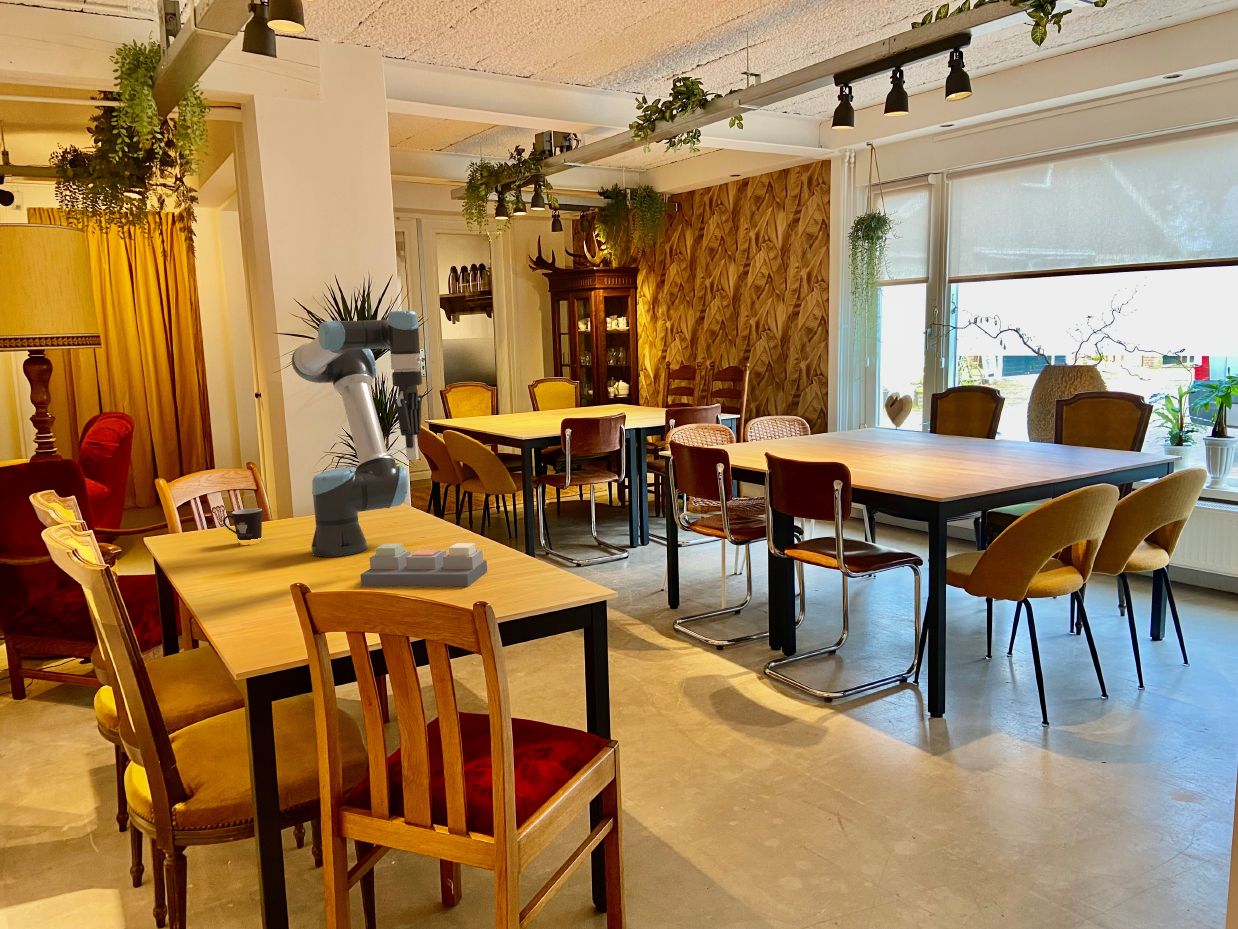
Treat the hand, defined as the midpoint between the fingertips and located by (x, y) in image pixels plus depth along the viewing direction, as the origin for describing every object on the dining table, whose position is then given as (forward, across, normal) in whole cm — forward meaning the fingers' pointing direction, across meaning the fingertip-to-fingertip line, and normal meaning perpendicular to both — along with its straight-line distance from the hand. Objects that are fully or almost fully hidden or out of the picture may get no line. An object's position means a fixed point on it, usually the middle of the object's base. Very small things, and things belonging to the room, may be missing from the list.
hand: (412, 459), depth 236 cm
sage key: (+22, -19, -1) cm, 29 cm away
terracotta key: (+24, -19, -11) cm, 32 cm away
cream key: (+22, -19, -20) cm, 35 cm away
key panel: (+27, -21, -11) cm, 35 cm away
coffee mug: (+29, +20, +65) cm, 74 cm away
